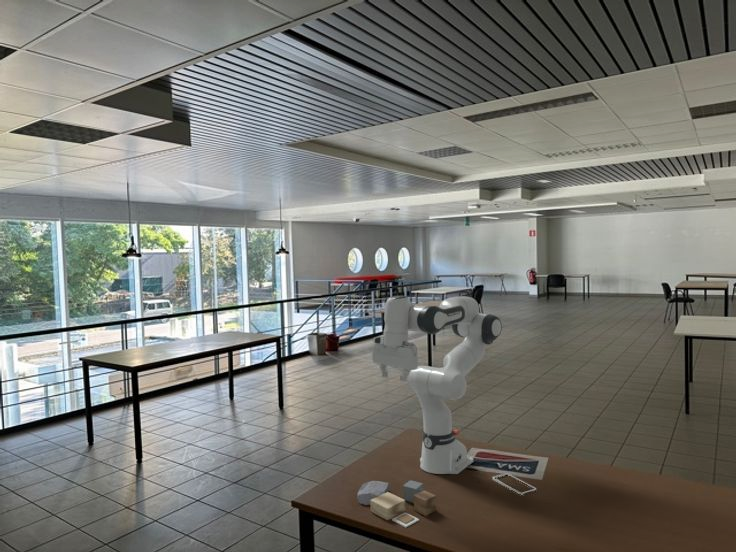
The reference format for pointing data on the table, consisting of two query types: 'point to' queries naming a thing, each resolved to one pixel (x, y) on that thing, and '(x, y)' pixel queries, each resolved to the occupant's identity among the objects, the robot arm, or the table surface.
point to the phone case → (509, 486)
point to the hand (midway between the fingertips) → (393, 379)
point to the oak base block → (387, 505)
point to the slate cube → (411, 490)
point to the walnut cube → (424, 503)
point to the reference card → (405, 519)
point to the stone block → (371, 491)
